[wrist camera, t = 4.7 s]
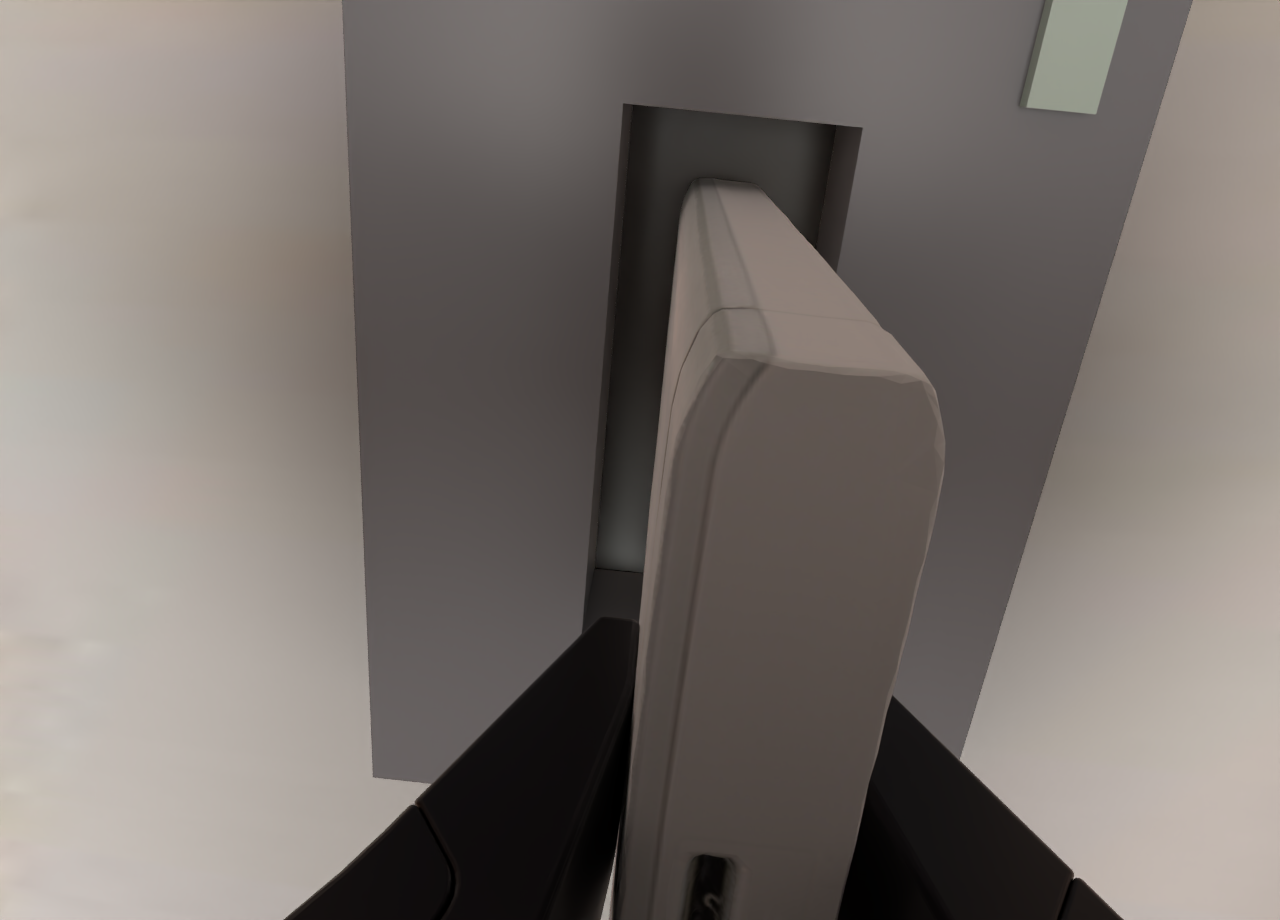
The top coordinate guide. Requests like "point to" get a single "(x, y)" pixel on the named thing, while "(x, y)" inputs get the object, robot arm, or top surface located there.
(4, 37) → the top surface
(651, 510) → the hard drive
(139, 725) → the top surface
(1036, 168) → the drive dock
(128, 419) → the top surface
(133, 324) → the top surface
